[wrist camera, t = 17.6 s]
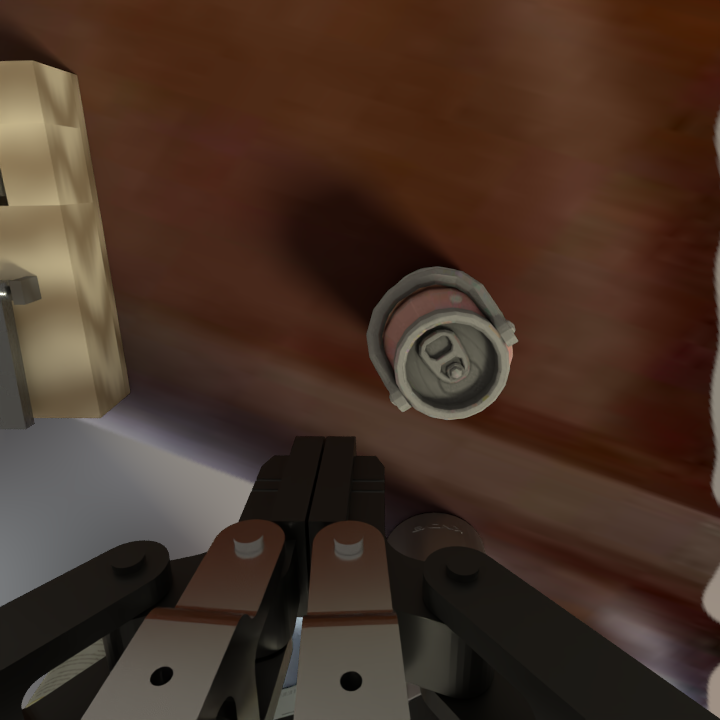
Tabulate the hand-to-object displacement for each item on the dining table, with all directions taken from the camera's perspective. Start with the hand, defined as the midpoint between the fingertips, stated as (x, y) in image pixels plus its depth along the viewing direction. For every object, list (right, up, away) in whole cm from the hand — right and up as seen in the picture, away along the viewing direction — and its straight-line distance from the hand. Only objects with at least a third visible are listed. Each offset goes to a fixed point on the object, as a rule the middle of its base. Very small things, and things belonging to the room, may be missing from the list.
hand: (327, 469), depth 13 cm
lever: (-25, +3, +25) cm, 35 cm away
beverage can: (+6, +7, +28) cm, 30 cm away
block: (-25, +11, +28) cm, 39 cm away
